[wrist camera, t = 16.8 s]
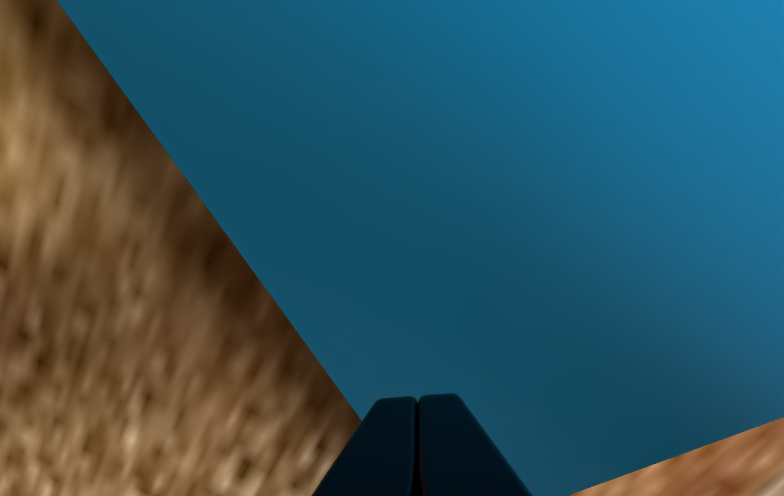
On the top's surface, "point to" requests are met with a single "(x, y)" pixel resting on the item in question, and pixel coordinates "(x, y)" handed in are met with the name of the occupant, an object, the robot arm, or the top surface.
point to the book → (495, 202)
